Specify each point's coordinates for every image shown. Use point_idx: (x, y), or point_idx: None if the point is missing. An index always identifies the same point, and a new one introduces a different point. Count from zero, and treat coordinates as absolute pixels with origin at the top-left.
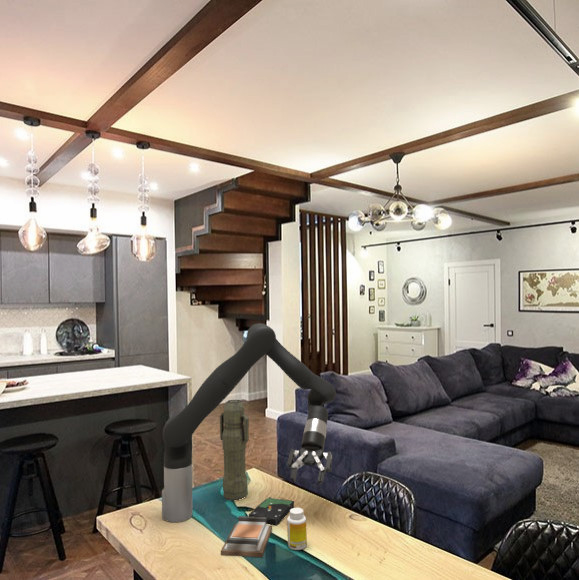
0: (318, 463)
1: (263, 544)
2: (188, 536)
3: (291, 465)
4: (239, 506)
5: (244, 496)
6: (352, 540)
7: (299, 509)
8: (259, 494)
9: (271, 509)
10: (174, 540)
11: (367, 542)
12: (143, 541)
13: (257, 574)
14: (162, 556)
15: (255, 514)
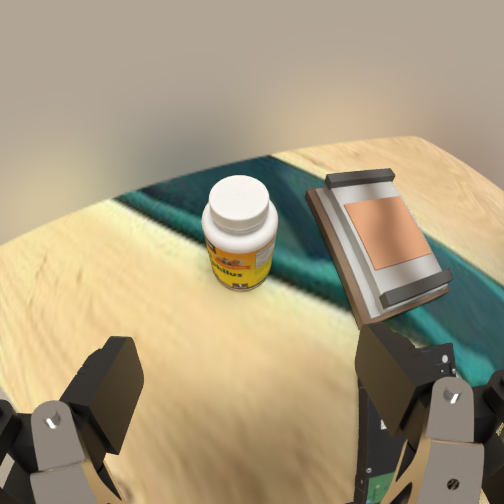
0: (65, 463)
1: (325, 220)
2: (475, 228)
3: (475, 400)
4: None
5: None
6: (92, 340)
7: (229, 206)
8: None
9: None
10: (477, 210)
11: (59, 337)
12: (495, 199)
13: (281, 152)
14: (448, 168)
15: (438, 351)
